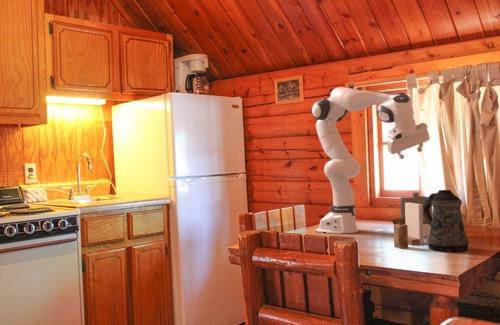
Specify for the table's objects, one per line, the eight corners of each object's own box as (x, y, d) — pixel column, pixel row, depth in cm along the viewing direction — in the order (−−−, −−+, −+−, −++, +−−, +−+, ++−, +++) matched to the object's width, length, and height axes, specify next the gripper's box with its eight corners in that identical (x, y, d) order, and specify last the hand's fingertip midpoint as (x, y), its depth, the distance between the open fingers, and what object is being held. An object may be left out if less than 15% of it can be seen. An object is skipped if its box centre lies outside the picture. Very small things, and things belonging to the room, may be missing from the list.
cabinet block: (399, 248, 217) (398, 223, 217) (393, 247, 221) (392, 222, 221) (408, 247, 218) (407, 222, 218) (402, 246, 222) (401, 221, 222)
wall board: (398, 241, 233) (397, 203, 233) (409, 240, 235) (408, 202, 235) (412, 245, 223) (411, 205, 223) (423, 244, 225) (422, 204, 225)
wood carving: (468, 237, 239) (467, 213, 239) (392, 236, 248) (391, 214, 247) (465, 234, 248) (464, 211, 247) (392, 233, 256) (391, 211, 256)
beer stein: (465, 254, 202) (464, 192, 202) (416, 250, 212) (415, 191, 212) (471, 246, 216) (470, 189, 216) (425, 243, 226) (424, 188, 226)
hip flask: (401, 231, 263) (400, 193, 262) (400, 229, 267) (399, 192, 266) (433, 230, 261) (432, 192, 260) (431, 229, 265) (430, 191, 264)
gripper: (422, 119, 236) (426, 145, 242) (383, 134, 234) (388, 159, 240) (430, 123, 231) (434, 149, 236) (390, 138, 229) (395, 164, 235)
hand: (410, 154), depth 238 cm, fingers open, 8 cm apart
